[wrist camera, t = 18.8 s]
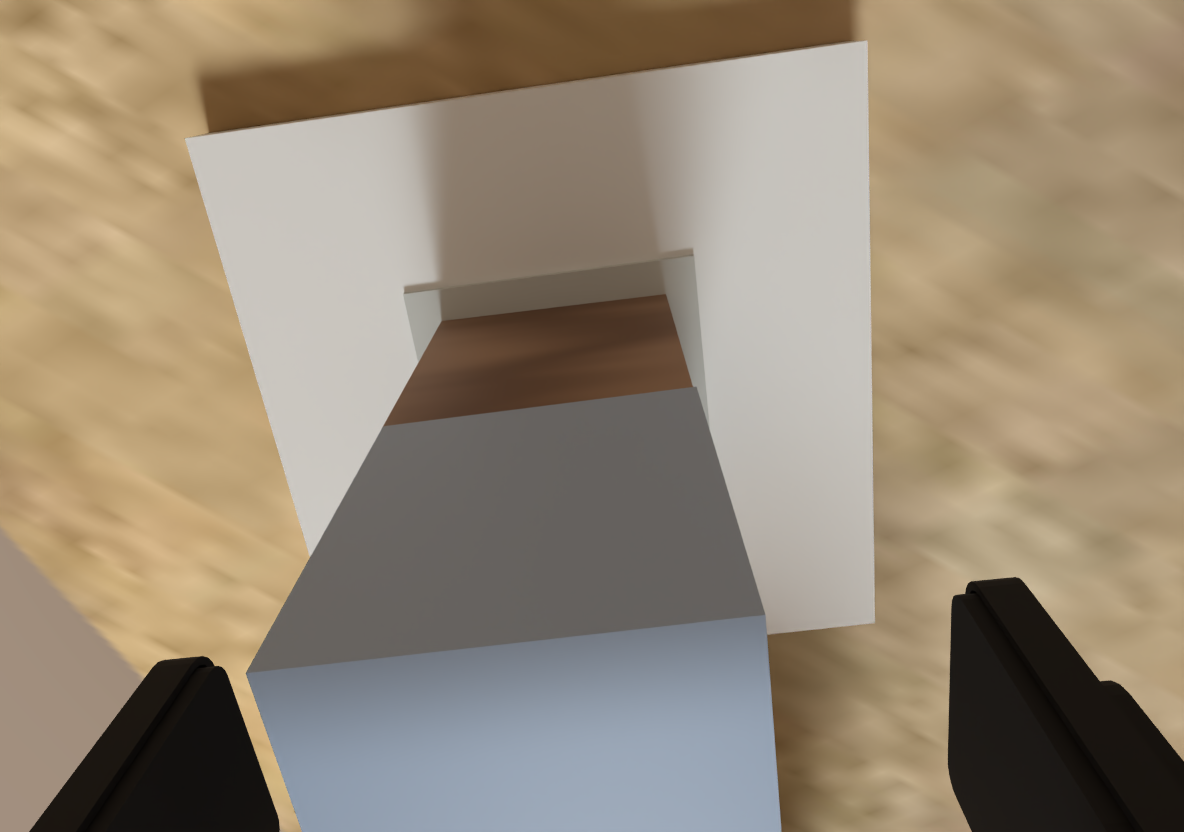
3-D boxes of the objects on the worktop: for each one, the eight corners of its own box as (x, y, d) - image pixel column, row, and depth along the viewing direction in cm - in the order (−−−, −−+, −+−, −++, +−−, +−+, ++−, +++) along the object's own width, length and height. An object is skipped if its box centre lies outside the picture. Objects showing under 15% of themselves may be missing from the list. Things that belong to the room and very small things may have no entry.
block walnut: (666, 294, 19) (694, 392, 14) (685, 495, 21) (717, 653, 16) (441, 321, 20) (381, 429, 14) (479, 517, 22) (440, 680, 16)
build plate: (851, 40, 19) (869, 40, 17) (862, 596, 24) (876, 626, 23) (207, 133, 19) (181, 139, 18) (357, 652, 25) (345, 683, 23)
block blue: (696, 386, 14) (765, 615, 8) (722, 647, 16) (792, 975, 10) (383, 426, 14) (246, 672, 8) (445, 678, 16) (367, 1013, 10)
